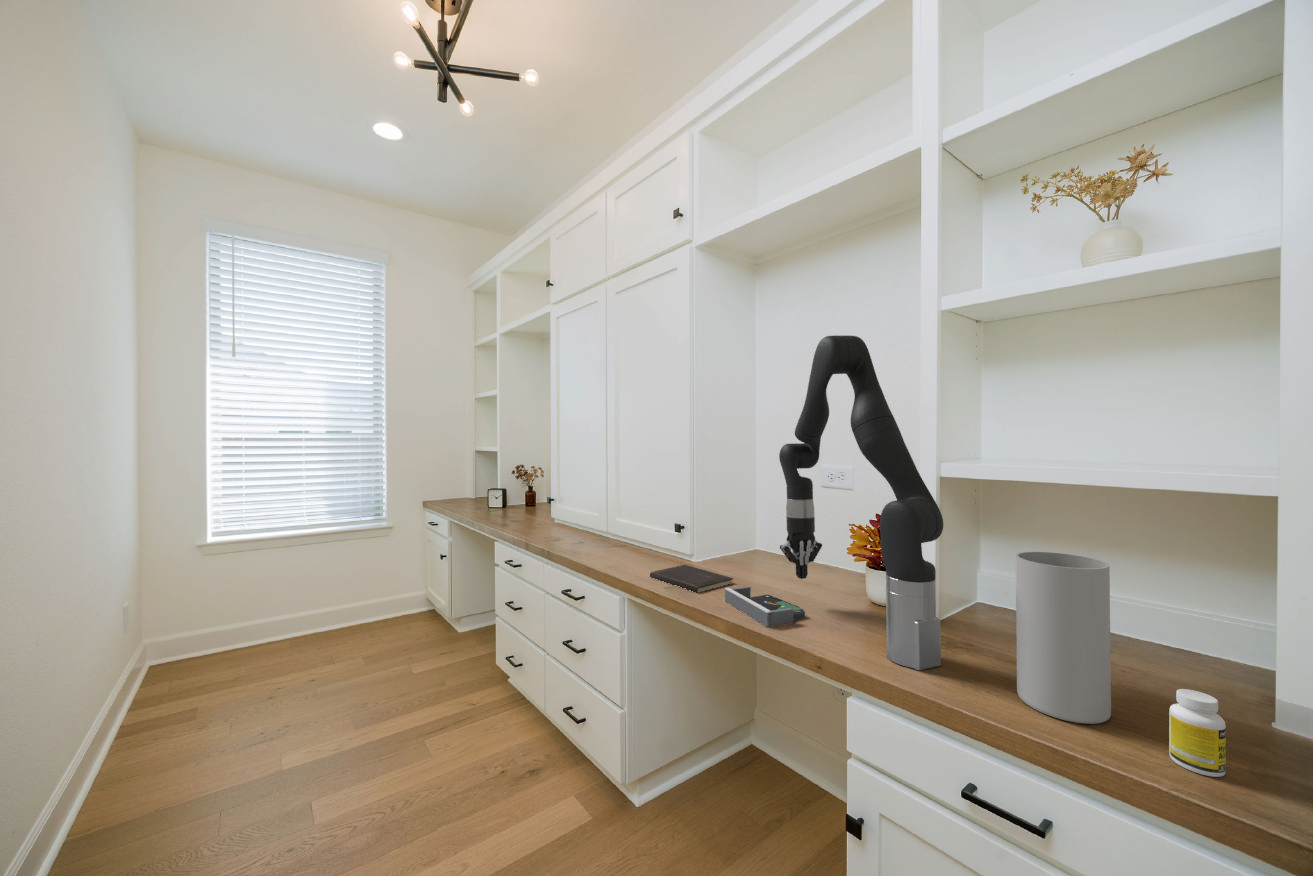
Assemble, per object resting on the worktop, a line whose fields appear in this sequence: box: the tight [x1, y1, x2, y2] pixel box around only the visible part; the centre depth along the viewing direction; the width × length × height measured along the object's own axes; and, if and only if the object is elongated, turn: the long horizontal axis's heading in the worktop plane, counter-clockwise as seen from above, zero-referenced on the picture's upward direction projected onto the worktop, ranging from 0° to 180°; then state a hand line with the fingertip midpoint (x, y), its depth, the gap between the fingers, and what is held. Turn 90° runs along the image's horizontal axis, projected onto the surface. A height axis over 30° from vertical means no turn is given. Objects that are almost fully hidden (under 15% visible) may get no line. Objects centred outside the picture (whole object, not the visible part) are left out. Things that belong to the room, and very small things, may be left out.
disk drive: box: [750, 593, 806, 621], centre depth 134 cm, size 10×3×15 cm
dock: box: [724, 585, 794, 628], centre depth 134 cm, size 21×8×4 cm, turn 21°
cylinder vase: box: [1015, 551, 1112, 725], centre depth 86 cm, size 12×12×25 cm
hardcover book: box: [649, 564, 734, 594], centre depth 164 cm, size 16×23×2 cm
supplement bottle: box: [1168, 688, 1227, 778], centre depth 70 cm, size 5×5×10 cm
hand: (801, 578), depth 139 cm, fingers closed
